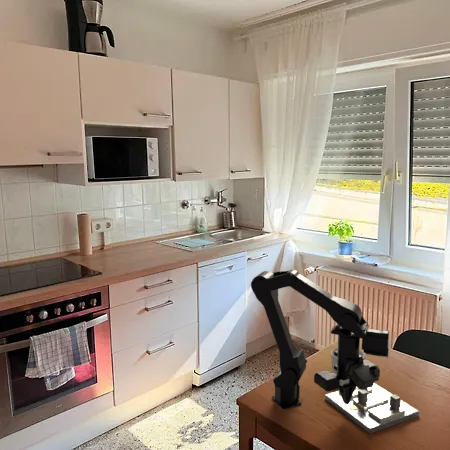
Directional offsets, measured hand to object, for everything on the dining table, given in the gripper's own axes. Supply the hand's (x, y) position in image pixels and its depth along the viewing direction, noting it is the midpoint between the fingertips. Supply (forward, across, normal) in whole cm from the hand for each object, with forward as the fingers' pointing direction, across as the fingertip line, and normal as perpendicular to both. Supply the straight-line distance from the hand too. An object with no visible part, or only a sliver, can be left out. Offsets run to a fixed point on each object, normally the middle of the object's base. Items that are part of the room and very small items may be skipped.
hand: (346, 403), depth 116 cm
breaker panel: (+4, +9, 0) cm, 10 cm away
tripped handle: (+1, +6, 0) cm, 6 cm away
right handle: (+1, +12, -6) cm, 13 cm away
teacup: (+4, +17, +18) cm, 25 cm away
